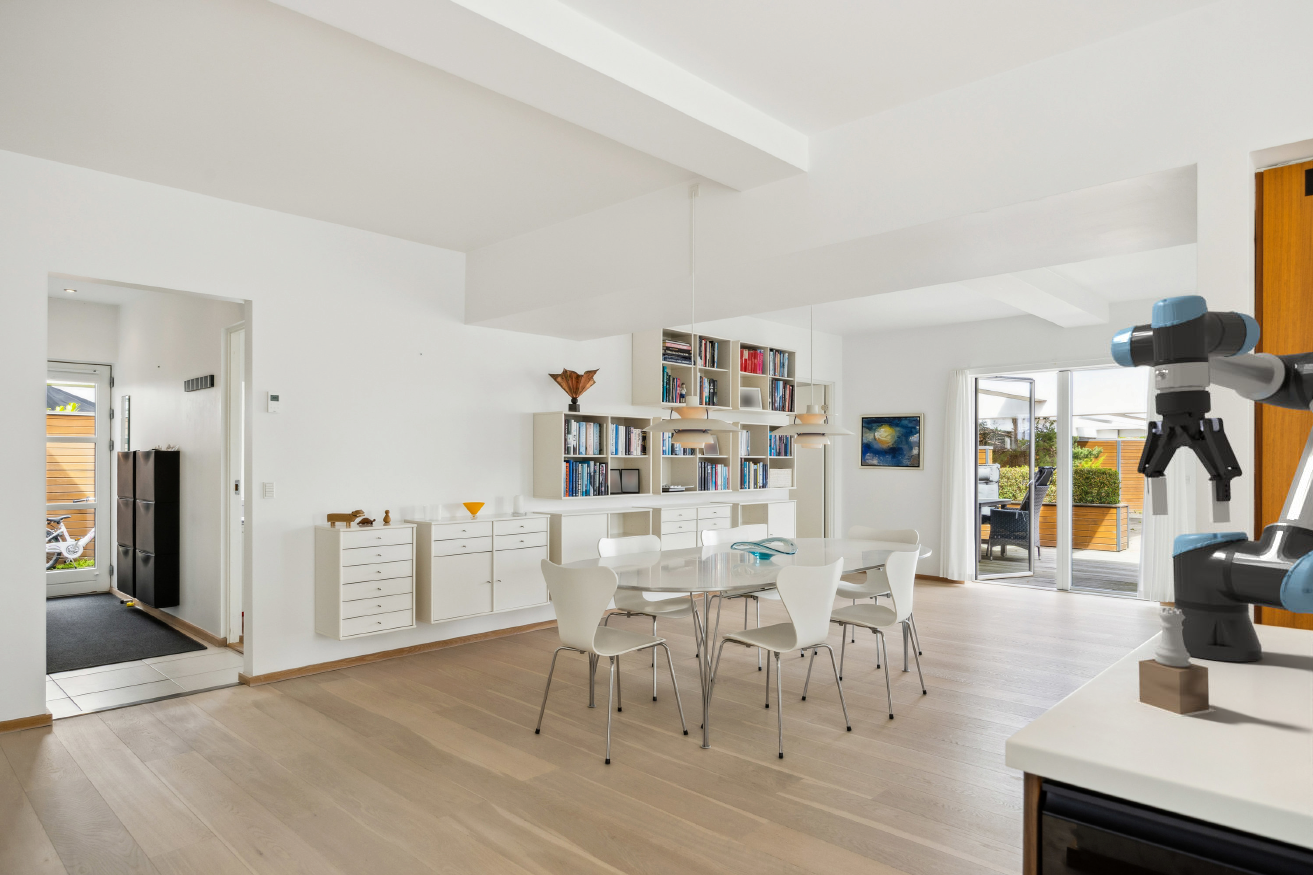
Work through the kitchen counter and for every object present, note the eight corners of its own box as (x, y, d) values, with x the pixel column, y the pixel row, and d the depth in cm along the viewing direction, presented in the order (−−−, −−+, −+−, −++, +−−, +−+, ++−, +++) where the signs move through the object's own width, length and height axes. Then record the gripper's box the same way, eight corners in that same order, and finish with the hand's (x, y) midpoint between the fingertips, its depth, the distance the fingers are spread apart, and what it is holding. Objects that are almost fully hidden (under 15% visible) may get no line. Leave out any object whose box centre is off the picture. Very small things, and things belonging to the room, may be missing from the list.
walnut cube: (1167, 697, 114) (1167, 657, 114) (1209, 709, 108) (1208, 667, 108) (1139, 701, 112) (1138, 660, 112) (1180, 714, 106) (1179, 671, 106)
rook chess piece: (1192, 670, 107) (1191, 613, 107) (1155, 665, 109) (1154, 610, 110) (1190, 662, 111) (1189, 608, 111) (1153, 658, 113) (1152, 605, 113)
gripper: (1111, 396, 137) (1116, 512, 137) (1218, 384, 112) (1225, 526, 112) (1152, 395, 137) (1157, 511, 137) (1267, 383, 112) (1273, 525, 112)
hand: (1187, 518), depth 124 cm, fingers open, 13 cm apart
